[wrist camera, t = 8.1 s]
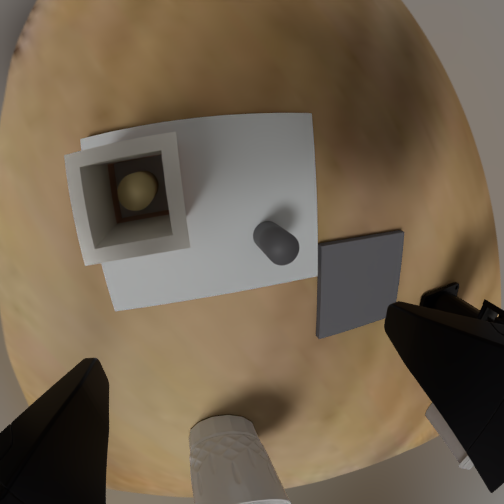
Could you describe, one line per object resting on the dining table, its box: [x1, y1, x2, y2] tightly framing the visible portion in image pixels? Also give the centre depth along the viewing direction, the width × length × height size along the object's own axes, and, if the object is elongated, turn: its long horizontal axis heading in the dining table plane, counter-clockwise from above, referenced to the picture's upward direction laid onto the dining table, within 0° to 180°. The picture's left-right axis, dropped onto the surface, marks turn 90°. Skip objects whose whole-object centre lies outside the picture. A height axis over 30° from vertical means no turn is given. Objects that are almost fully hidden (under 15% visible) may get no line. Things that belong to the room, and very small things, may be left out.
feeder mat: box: [316, 230, 404, 339], centre depth 22 cm, size 8×8×1 cm
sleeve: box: [64, 132, 191, 266], centre depth 12 cm, size 4×4×6 cm
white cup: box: [189, 415, 291, 504], centre depth 20 cm, size 8×8×10 cm
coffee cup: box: [425, 403, 474, 470], centre depth 30 cm, size 10×10×15 cm
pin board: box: [80, 113, 318, 311], centre depth 16 cm, size 14×11×4 cm
